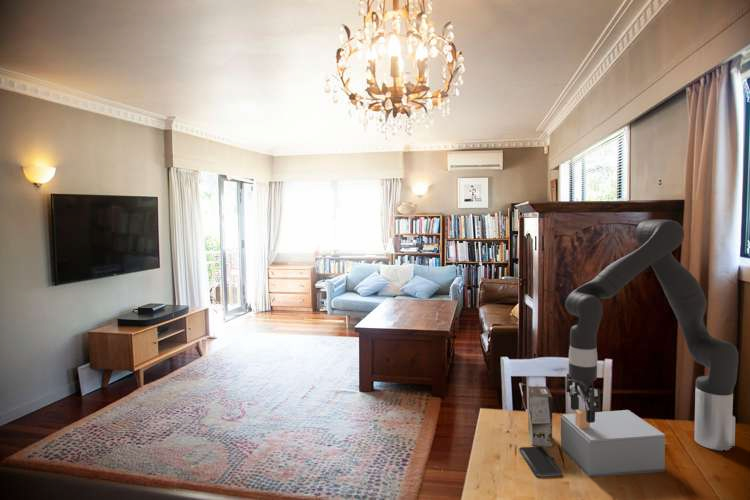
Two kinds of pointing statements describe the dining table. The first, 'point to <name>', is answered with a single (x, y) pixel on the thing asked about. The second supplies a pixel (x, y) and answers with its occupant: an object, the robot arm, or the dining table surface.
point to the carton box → (613, 453)
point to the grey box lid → (612, 426)
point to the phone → (540, 462)
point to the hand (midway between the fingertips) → (582, 415)
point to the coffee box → (540, 415)
